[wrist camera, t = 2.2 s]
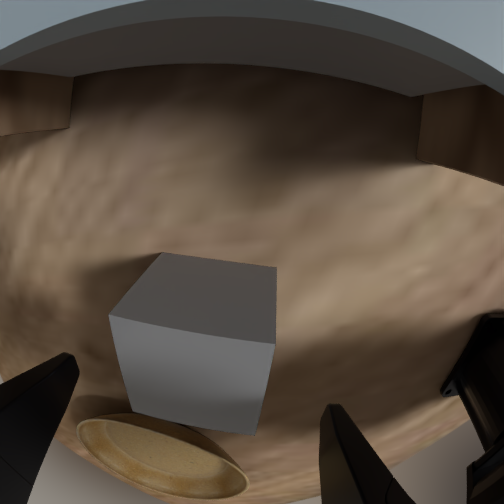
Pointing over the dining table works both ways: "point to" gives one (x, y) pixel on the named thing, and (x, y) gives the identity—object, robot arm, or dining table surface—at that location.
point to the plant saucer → (162, 456)
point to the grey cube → (198, 341)
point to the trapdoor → (265, 38)
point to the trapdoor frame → (430, 138)
